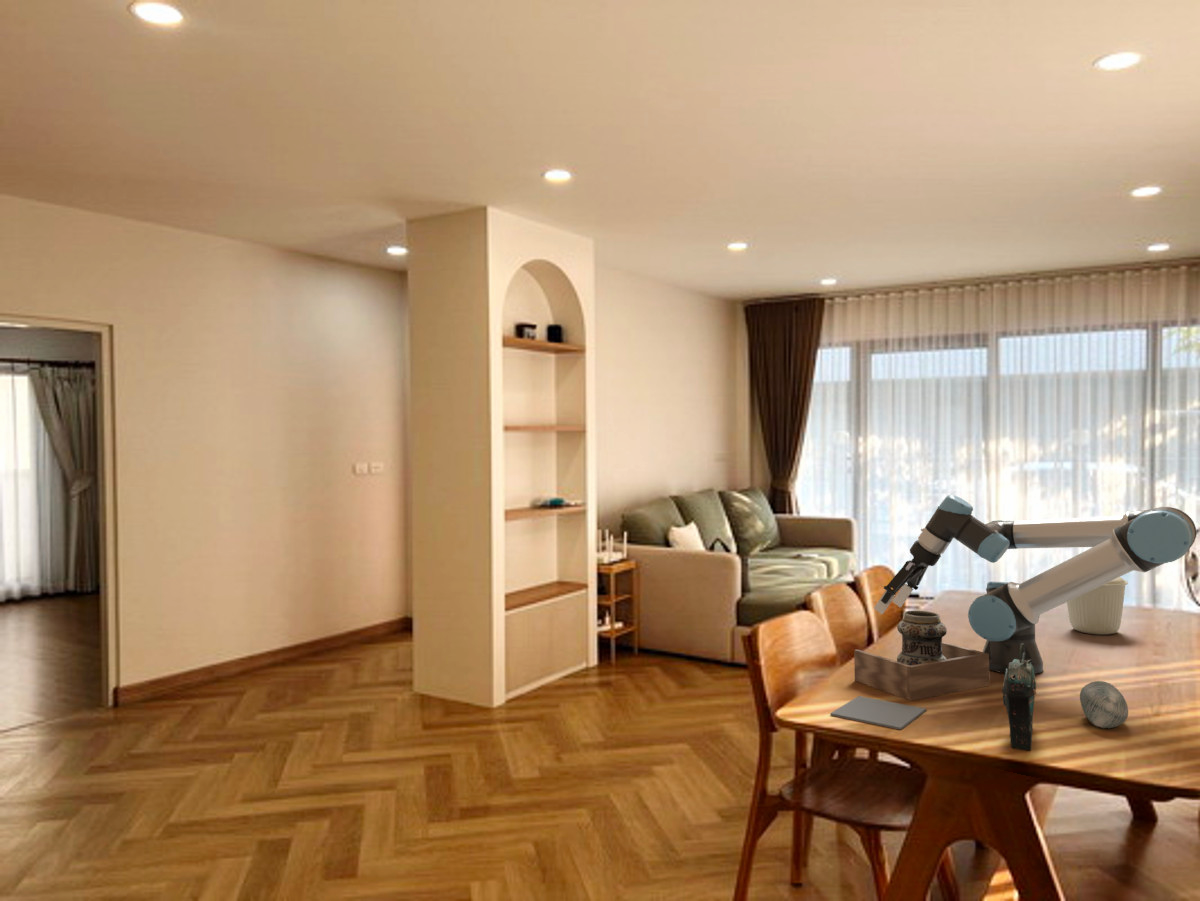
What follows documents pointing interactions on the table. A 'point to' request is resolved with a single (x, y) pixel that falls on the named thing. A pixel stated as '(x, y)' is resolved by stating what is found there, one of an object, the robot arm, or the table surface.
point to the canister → (1098, 609)
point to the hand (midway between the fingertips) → (887, 607)
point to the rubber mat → (879, 712)
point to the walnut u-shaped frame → (924, 673)
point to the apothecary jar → (921, 637)
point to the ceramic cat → (1020, 700)
